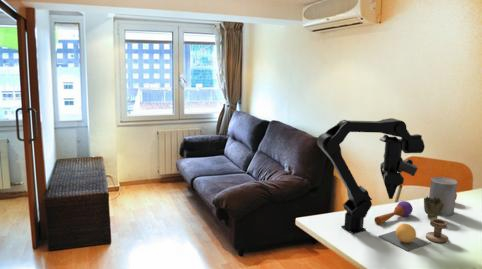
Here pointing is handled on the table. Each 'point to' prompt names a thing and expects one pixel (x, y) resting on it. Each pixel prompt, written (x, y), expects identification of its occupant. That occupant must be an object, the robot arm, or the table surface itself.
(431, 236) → the ball tee
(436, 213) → the cup
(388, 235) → the mat
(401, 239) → the rubber ball
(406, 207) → the kendama
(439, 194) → the pillar candle
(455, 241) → the table surface
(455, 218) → the table surface
